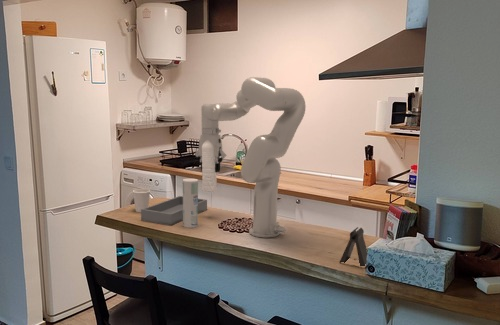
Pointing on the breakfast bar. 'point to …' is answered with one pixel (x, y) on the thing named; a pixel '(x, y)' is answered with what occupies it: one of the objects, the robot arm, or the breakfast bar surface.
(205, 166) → the water bottle
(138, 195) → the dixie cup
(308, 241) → the breakfast bar surface
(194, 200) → the spray can
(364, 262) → the phone stand
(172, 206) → the tray
